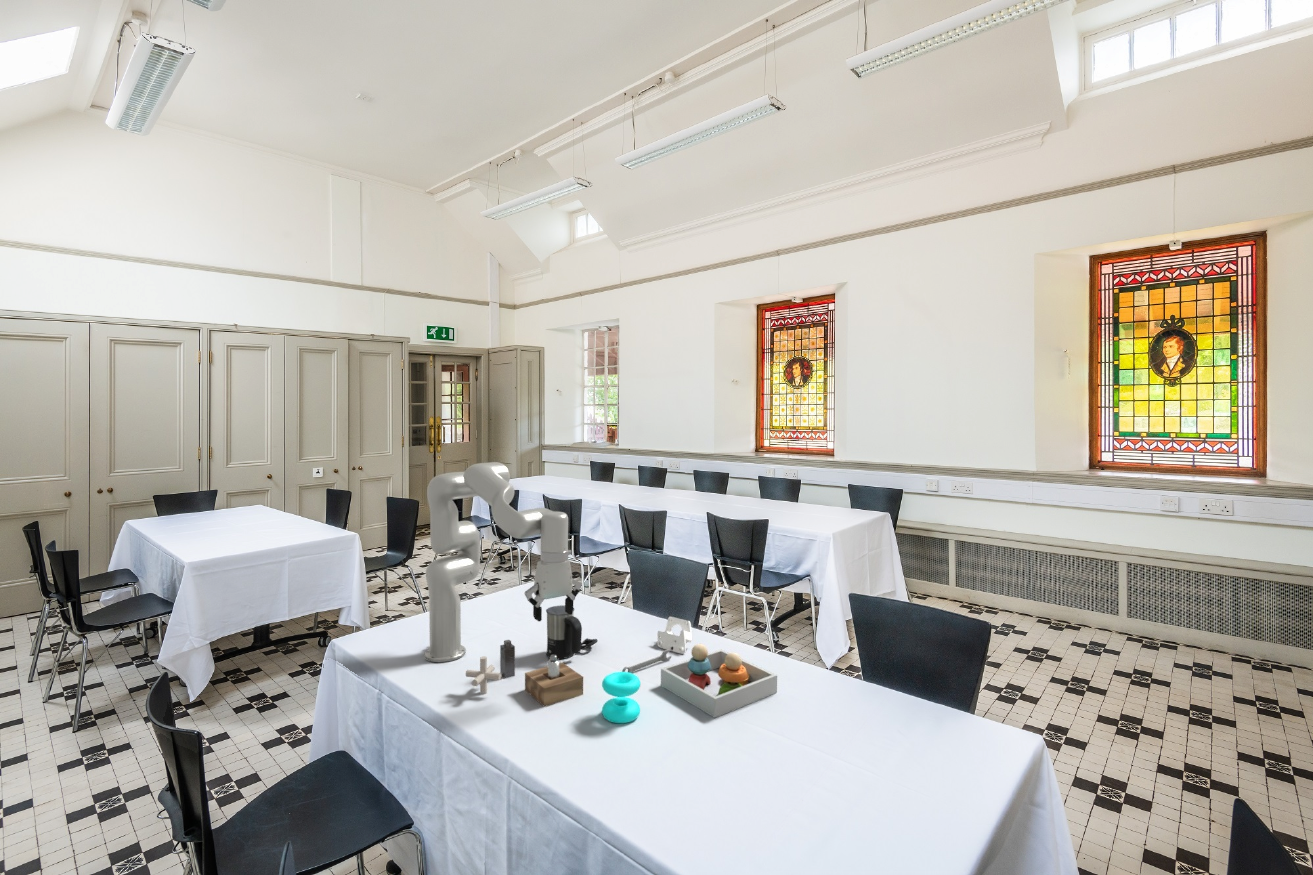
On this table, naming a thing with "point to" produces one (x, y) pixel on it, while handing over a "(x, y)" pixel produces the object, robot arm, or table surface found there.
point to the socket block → (553, 685)
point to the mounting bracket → (671, 640)
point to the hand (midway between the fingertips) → (553, 616)
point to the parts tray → (726, 702)
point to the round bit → (553, 667)
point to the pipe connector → (483, 675)
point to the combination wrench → (648, 662)
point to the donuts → (621, 697)
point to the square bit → (507, 659)
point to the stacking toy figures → (729, 672)
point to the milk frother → (564, 633)
